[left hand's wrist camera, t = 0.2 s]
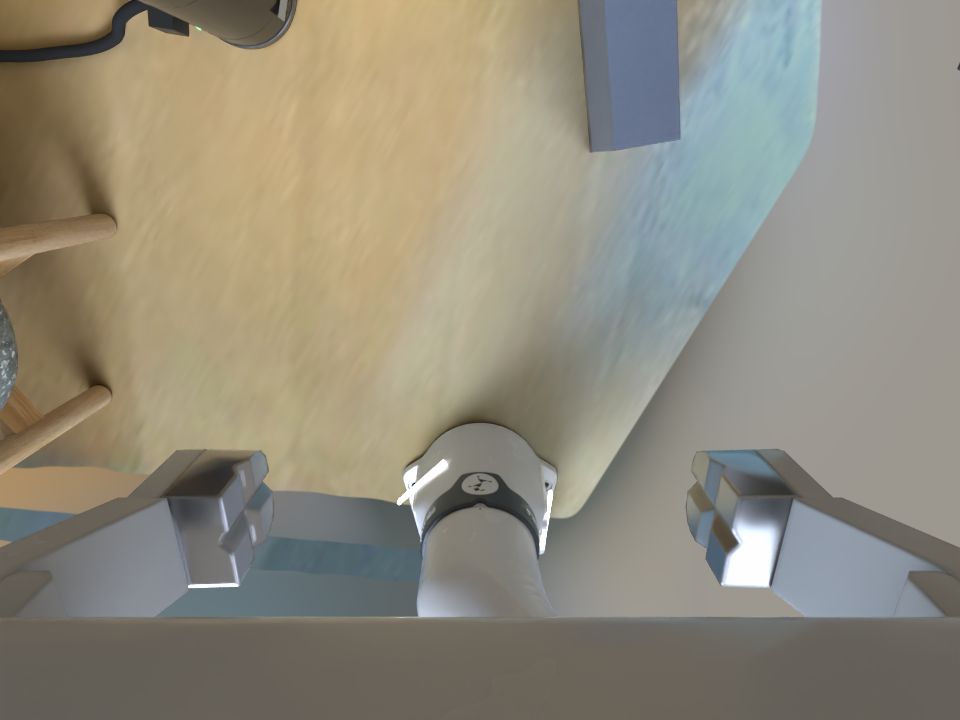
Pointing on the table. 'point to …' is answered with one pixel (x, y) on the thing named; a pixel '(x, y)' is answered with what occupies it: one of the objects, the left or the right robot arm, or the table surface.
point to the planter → (3, 401)
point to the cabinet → (630, 72)
